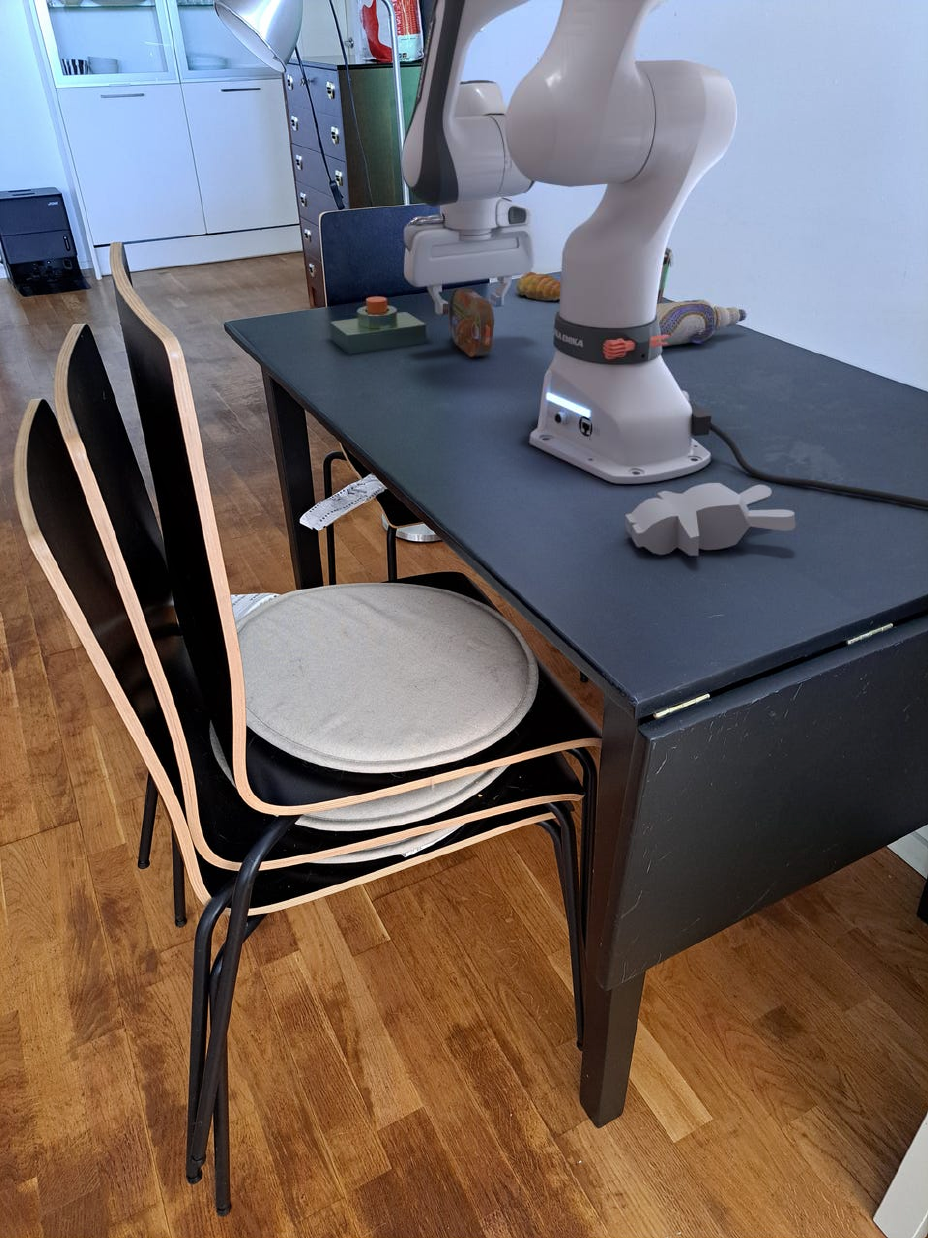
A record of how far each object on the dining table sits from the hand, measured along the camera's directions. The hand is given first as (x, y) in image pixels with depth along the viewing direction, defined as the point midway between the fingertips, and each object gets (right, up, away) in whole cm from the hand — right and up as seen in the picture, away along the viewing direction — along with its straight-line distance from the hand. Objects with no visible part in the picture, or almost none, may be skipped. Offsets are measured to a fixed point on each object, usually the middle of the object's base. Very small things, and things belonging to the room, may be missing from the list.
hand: (469, 309), depth 135 cm
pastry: (+14, +13, +30) cm, 35 cm away
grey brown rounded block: (+30, +9, +23) cm, 39 cm away
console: (-14, -3, +6) cm, 16 cm away
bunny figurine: (+23, -40, -48) cm, 66 cm away
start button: (-15, +1, +4) cm, 15 cm away
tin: (0, -5, +3) cm, 6 cm away
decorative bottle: (+32, -5, +4) cm, 33 cm away
